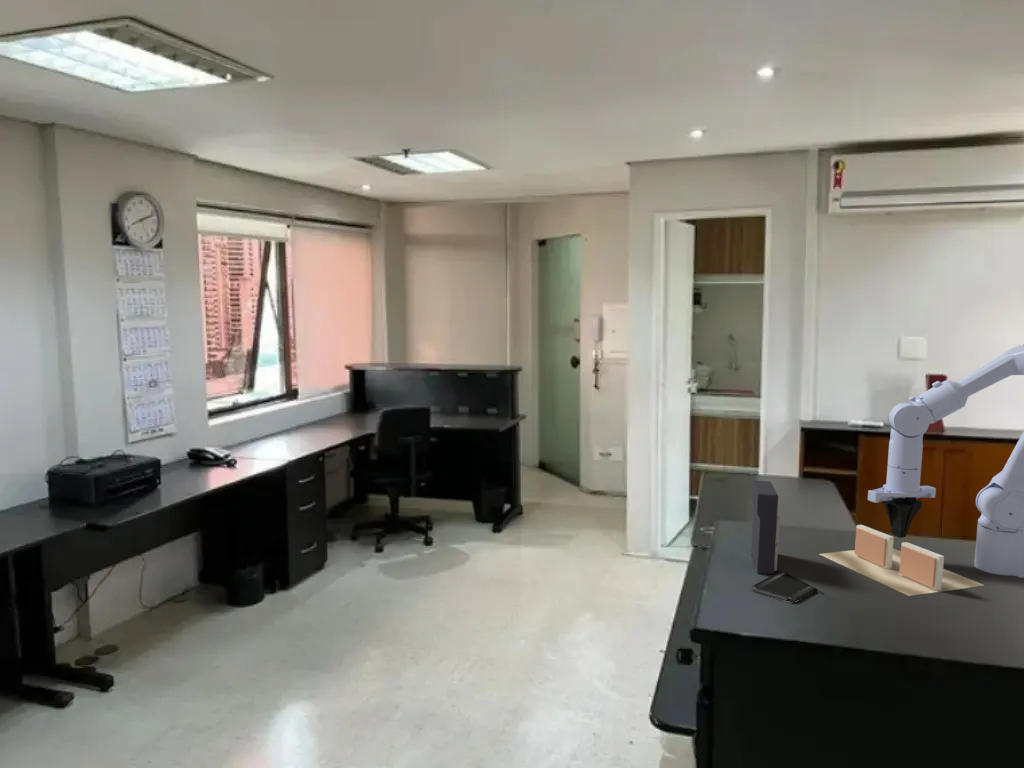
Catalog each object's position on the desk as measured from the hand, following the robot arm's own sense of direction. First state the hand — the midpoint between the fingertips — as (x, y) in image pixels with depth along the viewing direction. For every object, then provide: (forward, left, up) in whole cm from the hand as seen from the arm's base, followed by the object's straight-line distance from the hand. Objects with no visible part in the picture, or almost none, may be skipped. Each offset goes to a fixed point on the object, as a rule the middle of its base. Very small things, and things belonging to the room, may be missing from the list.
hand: (898, 535), depth 149 cm
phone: (+28, +5, -6) cm, 29 cm away
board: (+4, +5, -5) cm, 8 cm away
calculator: (+26, -6, -6) cm, 27 cm away
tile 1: (+6, 0, -4) cm, 7 cm away
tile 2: (+6, +11, -4) cm, 13 cm away
